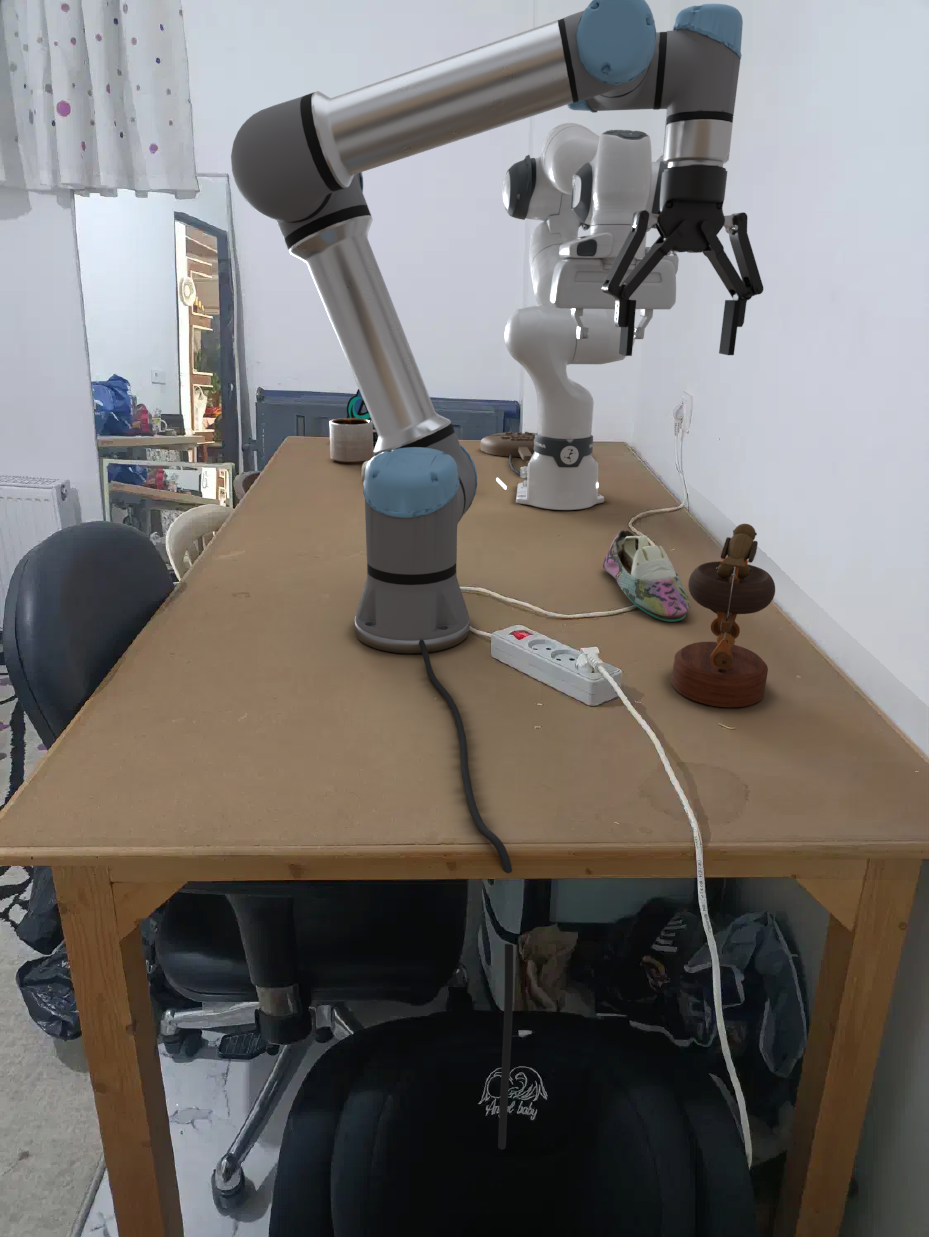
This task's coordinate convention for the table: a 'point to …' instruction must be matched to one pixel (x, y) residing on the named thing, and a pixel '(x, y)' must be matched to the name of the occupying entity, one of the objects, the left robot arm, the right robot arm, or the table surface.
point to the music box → (726, 628)
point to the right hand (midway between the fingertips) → (610, 339)
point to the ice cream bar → (510, 444)
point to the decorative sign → (359, 411)
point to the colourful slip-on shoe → (647, 577)
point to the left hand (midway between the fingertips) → (676, 355)
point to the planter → (351, 440)
